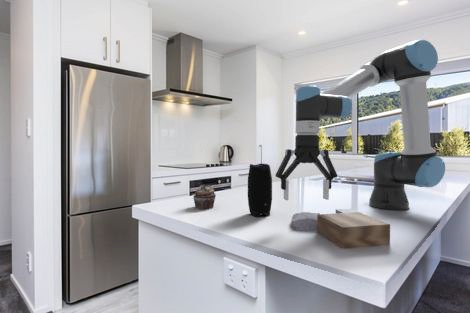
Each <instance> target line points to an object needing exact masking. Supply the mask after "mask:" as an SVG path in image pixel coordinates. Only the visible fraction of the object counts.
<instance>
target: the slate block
mask: <svg viewBox="0 0 470 313" xmlns="http://www.w3.org/2000/svg"><path fill="white" fill-rule="evenodd" d="M353 212H359V213H362V212H361V211H359V210H356V209H354V208H341V209H340V208H338V209H336V208H335V214H336V213H353Z"/></svg>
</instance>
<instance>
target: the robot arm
mask: <svg viewBox="0 0 470 313" xmlns="http://www.w3.org/2000/svg"><path fill="white" fill-rule="evenodd" d="M438 62H439V56H438V52H437V50H436V47H435V46H434V45H433V44H432V43H431V41H428V40H425V39H417V40H414V41H409V42H407V43H405V44H402V45H399V46H397V47H394V48H391V49H388V50H386V51H384V52H382V53H381V54H378V55H377V56H375V57H374V58H373V59H371V60H369V61H368V62H366V63H365V64H363V65H362V66H360V68H359V70H358V71H356V72H354V73H353V74H350V75H349V76H348V77H346V78H344V79H342V80H340V82H337V83H336V84H334V85H332V86H330V87H329V88H328V89H325V90H324V91H322V92H321V88H320V87H319V86H317V85H303V86H300V87H298V88H297V90H296V95H295V130H294V131H295V134H296V135H295V139H294V140H295V143H294V145H295V147H294V148H295V149H294V150H293V149H289V148H287V149H285V152H284V157H283V160H282V161H281V163H280V165H279V166H278V169H277V171H276V173H275V177H276V178H279V179H280V188H281V190H283V200H285V201H289V196H290V195H289V190H290V188H289V186H290V185H289V184H290V181H289V180H290V179H288V177H289V176H290V175H291V174H292V173H293V171H295V169H296V168H297V167H298V166H299V165H300V164H314V165H315V166H316V168H317V169H318V170H319V171H320V173H321V174H322V175H323V177H324V178H323V182H322V185H323V186H322V199H324V200H326V201H327V200H328V201H329V200H330V197H329V196H330V190H331V189H332V181H333V179H335V178H338V173H337V172H336V169H335V167H334V165H333V162H332V160H331V158H330V154H329V150H328V149H320V135H318V134H319V133H320V120H326V119H344V118H347V117H349V116H350V115H351V112H352V110H353V102H352V99H351V98H352V97H354V96H357V94H359V93H361V92H363V91H364V90H366V89H368V88H369V87H375V86H376V85H378V84H381V83H385V82H388V81H392V80H394V84H395V85H396V86H399V95H400V96H399V98H400V110H401V111H400V112H401V120H402V122H401V123H402V134H403V135H402V136H403V145H404V146H403V149H402V150H401V151H397V152H396V151H394V152H382V153H378V154H376V155H374V162H373V189H372V192H371V194H370V198H369V204H368V205H369V206H370V207H373V208H377V209H384V210H391V211H392V210H395V211H397V210H398V211H399V210H401V211H402V210H408V209H409V208H410V202H409V199H408V197H407V193H406V191H405V185H407V186H413V187H418V188H433V187H435V186H437V185H438V184H440V183H441V181H442V180H443V178H444V176H445V174H446V164H445V161H444V160H443V158H441V157H439V156H437V150H436V149H435V148H433V147H432V144H431V132H430V129H431V128H430V117H429V116H430V115H429V105H428V104H429V103H428V89H427V82H428V81H429V79H430V78H431V77H432V74H431V73H432V72H431V71H433V70H434V69H435V68H436V67H437V64H438ZM293 155H294V156H295V158H294V159H293V161H292V163H291V164H290V165H289V166H288V164H289V162H290V160H291V157H293ZM319 156H321V157H322V159H323V163H324V165H325V166H326V167H325V166H324V165H323V164H322V162H321V160H320V159H319V158H318V157H319ZM287 166H288V167H287ZM286 168H287V169H286ZM326 168H327V169H326Z"/></svg>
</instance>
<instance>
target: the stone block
mask: <svg viewBox="0 0 470 313" xmlns="http://www.w3.org/2000/svg"><path fill="white" fill-rule="evenodd" d="M318 214H321V213H320V212H317V213H316V212H310V211H309V212H308V211H302V212H297V213H294V214H293V215H292V217H291V220H290V222H291V225H292V228H294V229H296V230H299V231H301V230H302V231H317V215H318Z"/></svg>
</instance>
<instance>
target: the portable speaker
mask: <svg viewBox="0 0 470 313" xmlns="http://www.w3.org/2000/svg"><path fill="white" fill-rule="evenodd" d="M272 176H273V175H272V171H271V166H270V164H268V163H257V164H253V163H251V164H249V169H248V175H247V202H248V209H249V210H248V211H249V213H250V215H251V216H252V217H258V218H259V217H261V216H262V215H266V216H267V217H268V216H270V215H271V209H272V204H273V203H272V202H273V177H272Z"/></svg>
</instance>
